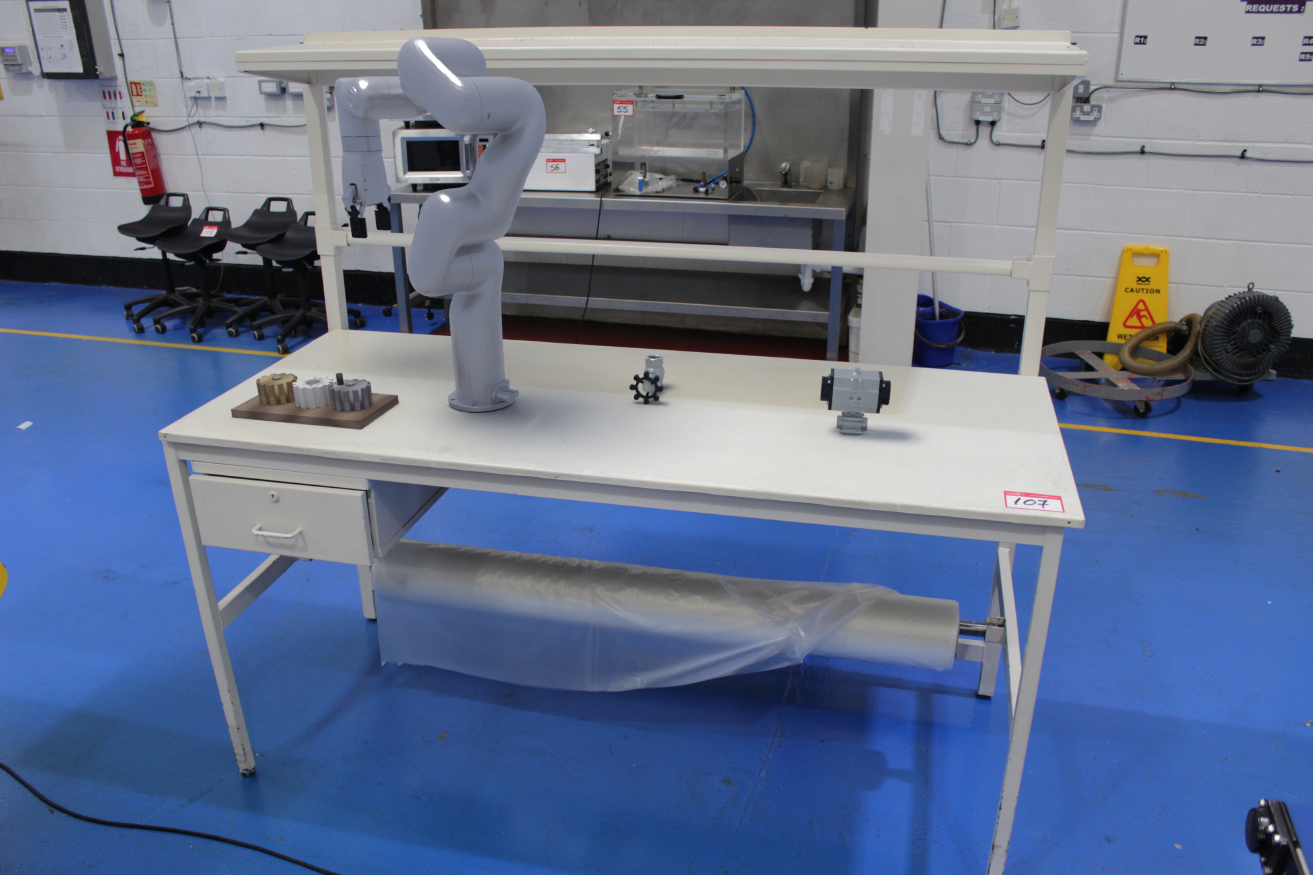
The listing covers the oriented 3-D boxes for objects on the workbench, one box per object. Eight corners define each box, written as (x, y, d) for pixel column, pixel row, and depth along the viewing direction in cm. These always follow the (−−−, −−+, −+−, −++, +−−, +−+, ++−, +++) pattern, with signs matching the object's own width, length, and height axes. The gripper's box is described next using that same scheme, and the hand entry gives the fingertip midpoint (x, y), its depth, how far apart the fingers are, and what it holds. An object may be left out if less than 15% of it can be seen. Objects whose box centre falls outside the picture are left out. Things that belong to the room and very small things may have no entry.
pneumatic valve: (817, 424, 159) (823, 361, 154) (884, 429, 157) (891, 365, 152) (817, 436, 154) (822, 371, 149) (885, 441, 152) (893, 375, 147)
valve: (639, 384, 180) (629, 403, 169) (639, 353, 177) (629, 371, 166) (671, 385, 179) (663, 405, 168) (672, 354, 176) (663, 373, 165)
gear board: (398, 402, 168) (394, 365, 166) (361, 429, 156) (355, 389, 153) (278, 392, 174) (272, 356, 171) (232, 417, 161) (224, 378, 158)
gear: (344, 400, 165) (341, 380, 163) (311, 411, 159) (308, 390, 158) (320, 393, 169) (317, 373, 167) (287, 403, 163) (284, 383, 162)
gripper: (367, 142, 180) (376, 226, 187) (320, 148, 164) (332, 240, 171) (400, 143, 179) (409, 228, 185) (356, 149, 163) (367, 242, 170)
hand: (372, 234), depth 178 cm, fingers open, 9 cm apart
